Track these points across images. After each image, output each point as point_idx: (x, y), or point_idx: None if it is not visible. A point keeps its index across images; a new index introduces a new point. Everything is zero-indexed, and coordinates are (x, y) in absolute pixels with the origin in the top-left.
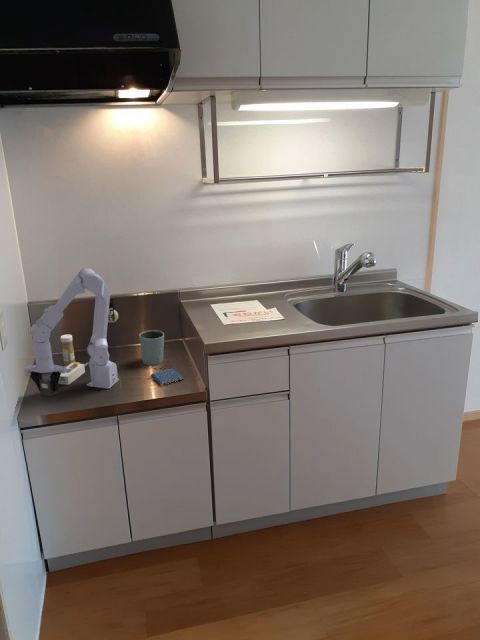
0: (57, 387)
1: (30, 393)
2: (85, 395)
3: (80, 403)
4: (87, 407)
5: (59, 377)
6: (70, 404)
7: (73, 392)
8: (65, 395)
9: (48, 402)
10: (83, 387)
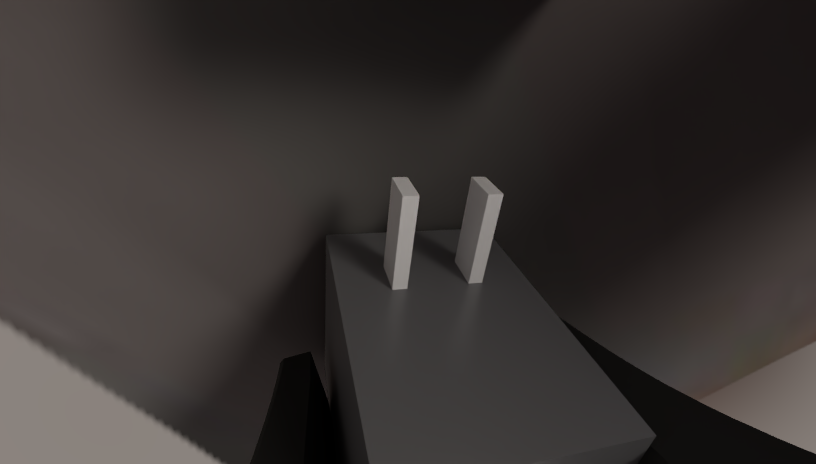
0: None
1: (118, 372)
2: (786, 214)
3: (734, 333)
4: (776, 354)
5: (728, 420)
6: (662, 368)
7: (670, 191)
8: (594, 272)
9: None
10: (792, 25)
